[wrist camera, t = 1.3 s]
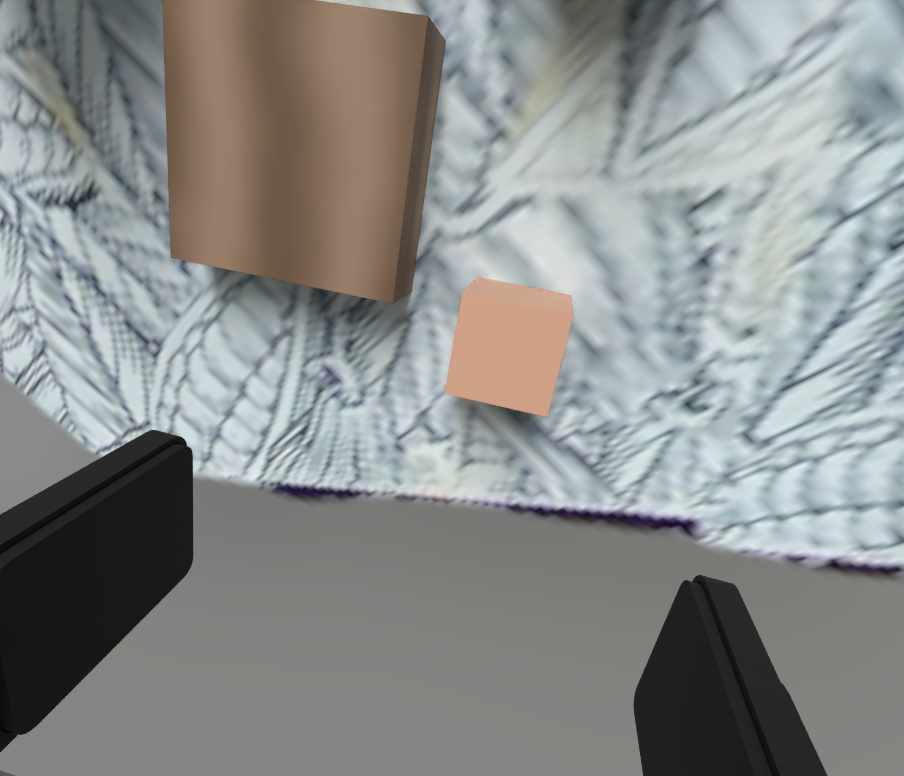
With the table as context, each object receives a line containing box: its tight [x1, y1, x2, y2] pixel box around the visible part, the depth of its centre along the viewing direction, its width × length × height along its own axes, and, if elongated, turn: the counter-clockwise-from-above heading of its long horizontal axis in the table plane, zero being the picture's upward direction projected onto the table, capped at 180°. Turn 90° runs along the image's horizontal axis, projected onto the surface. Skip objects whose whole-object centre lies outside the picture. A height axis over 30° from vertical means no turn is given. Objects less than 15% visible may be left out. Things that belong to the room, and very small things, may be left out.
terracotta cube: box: [445, 277, 573, 417], centre depth 26 cm, size 5×5×5 cm
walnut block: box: [162, 0, 445, 304], centre depth 26 cm, size 12×12×4 cm
